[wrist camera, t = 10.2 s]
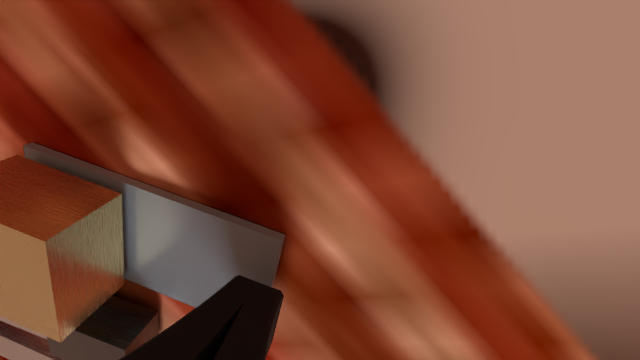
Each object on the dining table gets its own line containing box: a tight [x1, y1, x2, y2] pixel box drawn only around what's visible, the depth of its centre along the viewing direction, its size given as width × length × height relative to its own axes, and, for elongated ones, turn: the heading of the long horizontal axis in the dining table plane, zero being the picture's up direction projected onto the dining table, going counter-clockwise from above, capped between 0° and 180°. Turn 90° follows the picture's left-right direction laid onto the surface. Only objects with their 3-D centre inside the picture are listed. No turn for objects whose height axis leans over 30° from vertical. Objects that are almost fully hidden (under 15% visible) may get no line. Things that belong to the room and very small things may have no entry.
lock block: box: [0, 155, 124, 343], centre depth 11 cm, size 4×4×2 cm
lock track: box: [23, 142, 285, 307], centre depth 12 cm, size 4×8×1 cm, turn 77°
